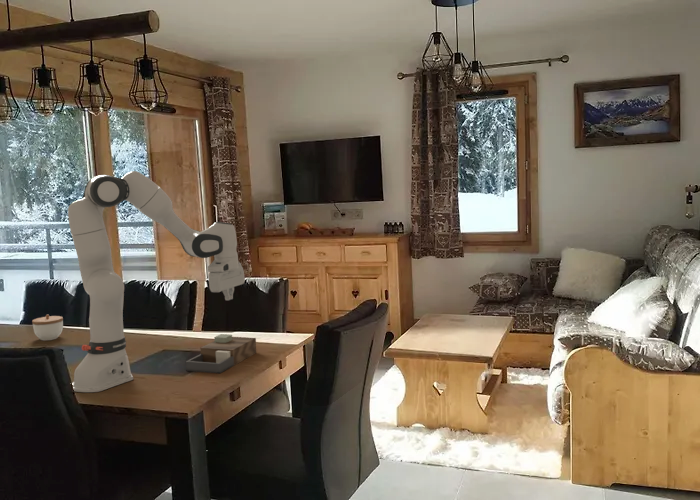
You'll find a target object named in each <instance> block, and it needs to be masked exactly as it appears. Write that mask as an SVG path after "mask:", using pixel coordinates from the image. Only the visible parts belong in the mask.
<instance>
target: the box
mask: <svg viewBox="0 0 700 500" xmlns="http://www.w3.org/2000/svg"><path fill="white" fill-rule="evenodd" d="M234 366H235V365H234V358H233V356H231V357H229V358H227V359H225V360H224V361H222V362H220V363H214V362H203V354H201V353H200V354H198V355H196V356H194V357H192V358H190V359H188V360H186V361H185V371H186V372H195V373H196V372H197V373H207V374H208V373H210V374H222V373H223V372H225V371H227V370H229V369H230V368H232V367H234Z"/></svg>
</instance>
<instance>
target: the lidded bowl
mask: <svg viewBox="0 0 700 500" xmlns="http://www.w3.org/2000/svg"><path fill="white" fill-rule="evenodd" d="M31 323H32V328H33V333H34V335H35V336H36V337H37V338H38V339H39V340H40V341H53V340H56V339H58V338H59V337H60V336H61V334H62V332H63V327H64V318H63V316H62V315H61V316H60V315H51V316H50V315H49V314H46V315H45V316H41V317H37V318H34V319H32V321H31Z"/></svg>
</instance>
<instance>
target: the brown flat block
mask: <svg viewBox="0 0 700 500" xmlns="http://www.w3.org/2000/svg"><path fill="white" fill-rule="evenodd" d="M199 350H200V354H203V362H214V363H216V351H218V350H220V351H230V357H231V356H233V358H234V366H236V365H237V364H239V363H241V362H242V361H244V360H246V359H248V358H251V356H254V355H255V354H257V353H258V352H257V338H256V337H247V336H246V337H244V336H243V337H242V336H232V340H231V341H229V342H227V343H220V342H215V341H214V340H213V341H211V342H210V343H207V344H205V345H203V346H201V347H200V349H199Z"/></svg>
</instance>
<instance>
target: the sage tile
mask: <svg viewBox="0 0 700 500" xmlns="http://www.w3.org/2000/svg"><path fill="white" fill-rule="evenodd" d="M232 337H233V335H232V334H227V333H226V334H225V333H224V334H223V333H221V334H218V335H216V336H214V338H213V339H214V340H213V342H214V341H215V342H220V343H227V342H229V341H231V340H232Z"/></svg>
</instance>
